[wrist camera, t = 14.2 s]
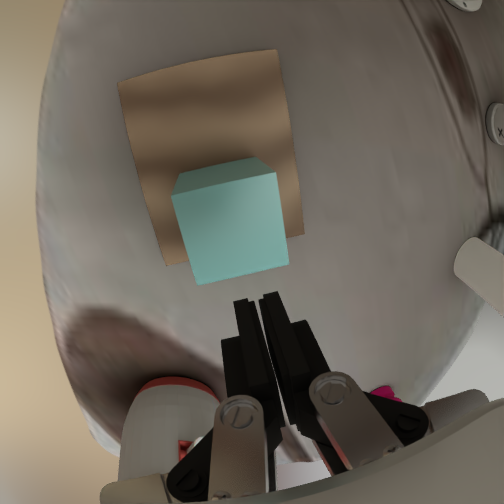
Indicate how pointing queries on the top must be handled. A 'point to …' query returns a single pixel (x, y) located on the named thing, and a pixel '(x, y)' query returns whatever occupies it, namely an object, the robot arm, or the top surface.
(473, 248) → the cylindrical container
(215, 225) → the mint green cube
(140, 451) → the citrus juicer
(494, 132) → the travel mug
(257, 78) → the board
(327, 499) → the robot arm
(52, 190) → the top surface
